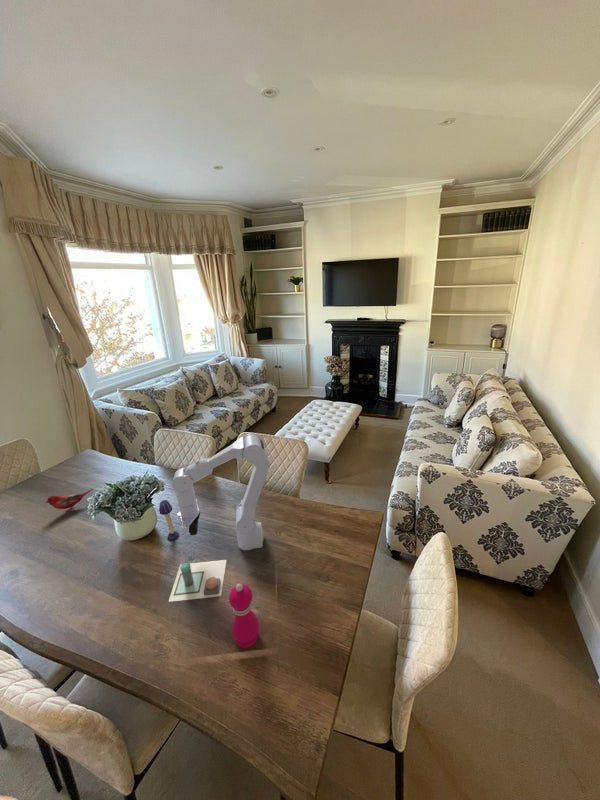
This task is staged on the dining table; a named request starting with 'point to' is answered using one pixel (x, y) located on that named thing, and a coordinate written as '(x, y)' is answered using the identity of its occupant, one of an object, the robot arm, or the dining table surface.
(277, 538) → the dining table surface
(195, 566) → the board
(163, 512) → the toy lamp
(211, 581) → the button
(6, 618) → the dining table surface
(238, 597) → the pepper mill
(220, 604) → the dining table surface
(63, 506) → the decorative bird figurine
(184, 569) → the salt shaker
